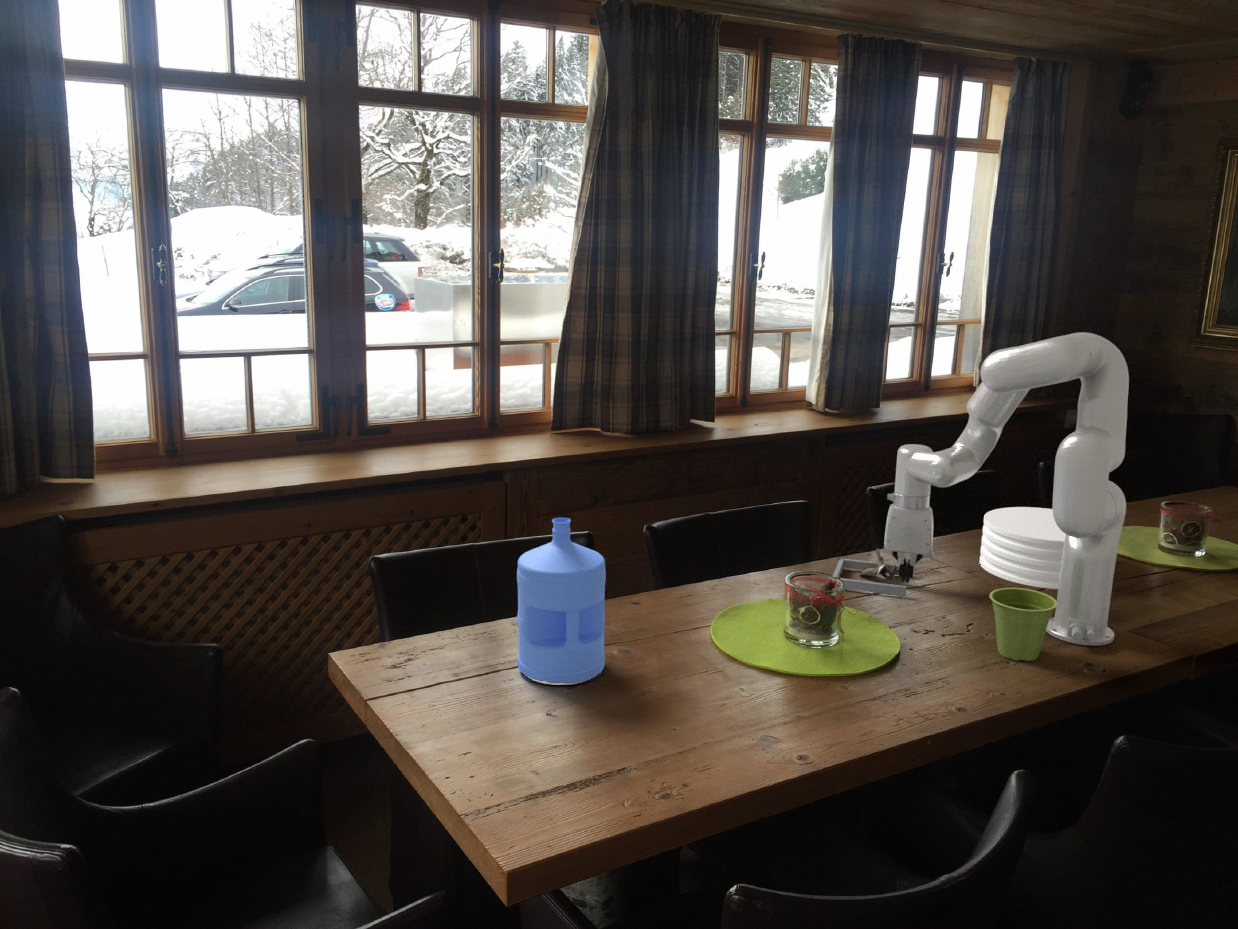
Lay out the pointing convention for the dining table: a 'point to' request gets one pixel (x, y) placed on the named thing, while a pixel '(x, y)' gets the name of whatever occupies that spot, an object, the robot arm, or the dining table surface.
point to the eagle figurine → (881, 568)
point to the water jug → (561, 610)
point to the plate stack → (1023, 546)
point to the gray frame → (866, 585)
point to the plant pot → (1021, 621)
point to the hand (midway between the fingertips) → (905, 580)
